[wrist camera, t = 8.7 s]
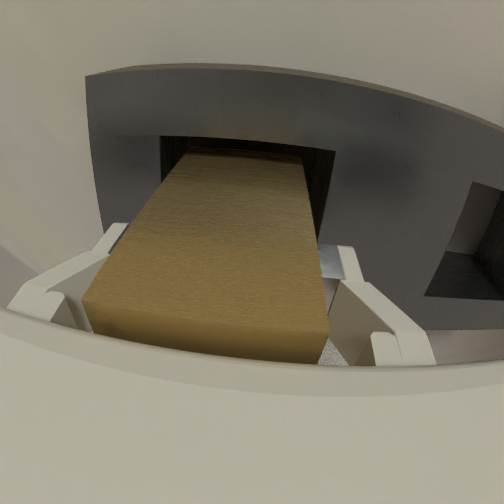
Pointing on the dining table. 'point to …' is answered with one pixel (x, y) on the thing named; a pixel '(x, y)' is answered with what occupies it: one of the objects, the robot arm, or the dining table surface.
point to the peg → (219, 263)
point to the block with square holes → (323, 169)
